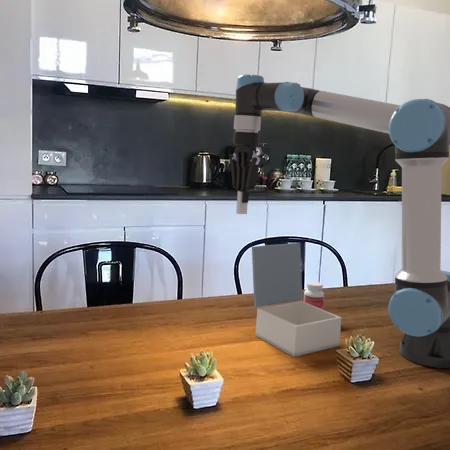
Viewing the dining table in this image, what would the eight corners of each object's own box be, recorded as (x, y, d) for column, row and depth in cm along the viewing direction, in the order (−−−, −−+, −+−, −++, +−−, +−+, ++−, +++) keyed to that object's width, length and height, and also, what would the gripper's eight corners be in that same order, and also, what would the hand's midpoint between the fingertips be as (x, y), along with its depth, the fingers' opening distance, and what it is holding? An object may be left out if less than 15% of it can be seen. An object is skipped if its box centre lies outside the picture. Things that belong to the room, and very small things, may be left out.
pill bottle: (324, 321, 162) (328, 286, 160) (305, 321, 161) (308, 286, 159) (318, 314, 168) (321, 281, 166) (299, 314, 167) (302, 280, 165)
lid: (300, 242, 155) (295, 242, 156) (253, 246, 145) (249, 246, 147) (302, 299, 155) (297, 298, 157) (256, 307, 145) (251, 306, 147)
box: (338, 346, 143) (341, 317, 142) (293, 357, 134) (296, 326, 133) (298, 326, 156) (301, 300, 155) (255, 335, 147) (257, 307, 146)
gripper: (271, 132, 148) (265, 216, 152) (244, 131, 158) (239, 209, 162) (250, 131, 144) (244, 217, 148) (223, 130, 154) (218, 210, 158)
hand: (241, 213), depth 155 cm, fingers closed
